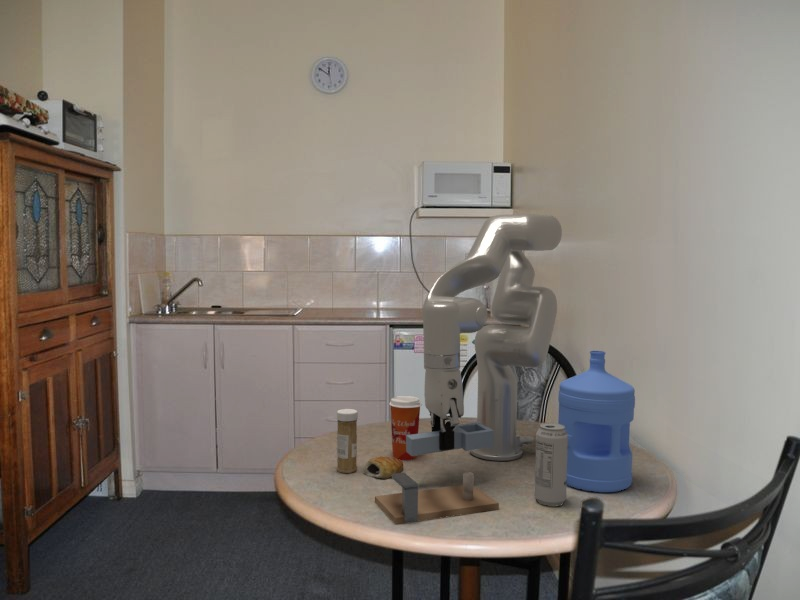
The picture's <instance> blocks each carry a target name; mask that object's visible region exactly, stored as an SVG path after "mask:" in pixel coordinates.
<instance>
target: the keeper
mask: <svg viewBox="0 0 800 600" xmlns="http://www.w3.org/2000/svg"><path fill="white" fill-rule="evenodd" d="M391 479H392V480H393V481H394V482H396V483H397V485H399V486H400V487H401V488H402V489H401V493H402V514H403V515H404V516H405V523H404V524H407V523H408V522H409V523H415V522H419V521H418V491H419V483H418V482H417V481H415V480H414V479H413V478H411V477H410V476H409V475H408V474H406V472H400V473H396V474H392V476H391Z"/></svg>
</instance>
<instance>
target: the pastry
mask: <svg viewBox="0 0 800 600" xmlns="http://www.w3.org/2000/svg"><path fill="white" fill-rule="evenodd" d="M403 469H404V462H403V460H399V459H397V458H394V457H393V456H392V457H390V456H375V458H370V459H369V460H368V461H366V463H365V465H364V467H363V469H362V470H363V473H364V475H365V474H366V476H367V475H368V476H367V477H371V476H372V478H377V479H380V478H382V479H383V478H387V479H390V478H392V474H396V473H402V472H403Z"/></svg>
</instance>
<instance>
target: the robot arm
mask: <svg viewBox="0 0 800 600" xmlns="http://www.w3.org/2000/svg"><path fill="white" fill-rule="evenodd" d="M562 233H563V228H562V225H561V223H560V221H559V220H558V218H557V217H556V216H553V215H547V214H544V215H543V214H531V213H521V214H517V213H516V214H514V213H513V214H498V215H492V216H489V218H487V219H486V220H484V222H483V224H482V226H481V228H480V230H479V232H478V233H477V236H476V238H475V240H474V242H473V244H472V246H471V247H470V250H469V252H468V254H467V256H466V258H464V259H463V260H460V261H459V262H458V263H456V264H455V265H453V266H452V267H450V268H449V269H448V270H446V271H445V272H443V273H442V274H441V275H439V276H438V278H437V279H436V280H435V281H434V283H433V284H432V285H431V287H430V290H429V291H428V293H427V295H426V297H425V299H424V302H423V305H422V309H421V319H422V322H423V333H422V334H423V335H422V336H423V369H424V370H425V374H424V406H425V408H426V409H427V410H428V412H429V416H430V425H431V432H433V431H440V430H441V431H440V432H439V449H440V450H441V451H442V452H446V451H445V450H448V451H452V450H451V449H454V431H455V426H456V425H460V419H459V418H460V417H463V416H464V414H465V405H464V389H463V387H464V386H463V381H462V380H463V379H462V374H461V370H460V368H461V334H474V333H475V337H474V351H475V357H476V363H477V403H476V405H477V406H476V407H477V410H476V413H477V414H476V422H479V423H481V424H483V425H485V426H486V427H488V428H490V429H492V430H493V446H494V447H488V448H481V449H475V450H469V452H470V454H471V455H472V456H474V457H476V458H479V459H482V460H486V461H487V460H488V461H496V462H497V461H498V462H501V461H502V462H504V461H514V460H518V459H520V458H521V457H522V456H523V450H522V448H521V447H523V445H533V444H534V438H533V436H532V435H529V436H527V435H526V436H523V435H522V434H521V435H519V434H517V419H518V418H517V413H518V412H517V411H518V409H517V408H518V380H517V378H516V375H515V373H514V371H513V370H512V368H511V366H512V367H520V368H521V367H522V368H531V369H532V368H538V367H541V366H542V365H543V364H544V363H545V361H546V359H547V356H548V352H549V349H550V344H551V341H552V335H553V332H554V328H555V324H556V320H557V313H558V300H557V297H556V294H555V293H554V291H553V290H552V289H550V288H548V287H545V286H534V285H533V284H534V280H535V276H536V275H535V272H536V271H535V269H534V267H533V264H532V263H531V262H530V260H529V259H528V258H527V256H526V255H525V253H524V252H525V251H529V252H531V251H532V252H533V251H535V252H537V251H538V252H539V251H540V252H541V251H552V250H555V249H556V248H558V246H559V244H560V242H561V240H562V236H563V234H562ZM523 251H524V252H523ZM497 279H498V281H497V284H496V288H495V291H494V295H493V299H492V303H491V308H490V309H491V315H492V317H493V319H494V320H496V321H497V322H499V323H503V324H499V323H498V324H497V323H494V324H493V323H492V324H487V321H488V317H489V316H488V307H486V304H485V303H484V302H482V301H481V300H480V299H477V298H474V297H462V296H461V297H459V296H458V295H459V294H461V293H463V292H465V291H467V290H471V289H474V288H478V287H481V286H483V285H486V284H489V283H491V282H492V281H495V280H497ZM522 325H523V326H522ZM448 414H449V415H448Z"/></svg>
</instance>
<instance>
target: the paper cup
mask: <svg viewBox="0 0 800 600" xmlns="http://www.w3.org/2000/svg"><path fill="white" fill-rule="evenodd" d="M388 404H389V405H390V423H391V425H390V426H391V427H390V428H391V447H392V457H394V458H397V459H400V461H412V460H416V458H417V456H411V455H410V454H409V453H407V452H406V435H412V434H419V428H420V427H419V426H420V414H421V413H420V412H421V406H423V404H422V403H421V400H420V398H418V397H416V396H412V395H411V396H409V395H398V396H394V397H392V398H391V399H390V402H389V403H388ZM411 459H412V460H411Z"/></svg>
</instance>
